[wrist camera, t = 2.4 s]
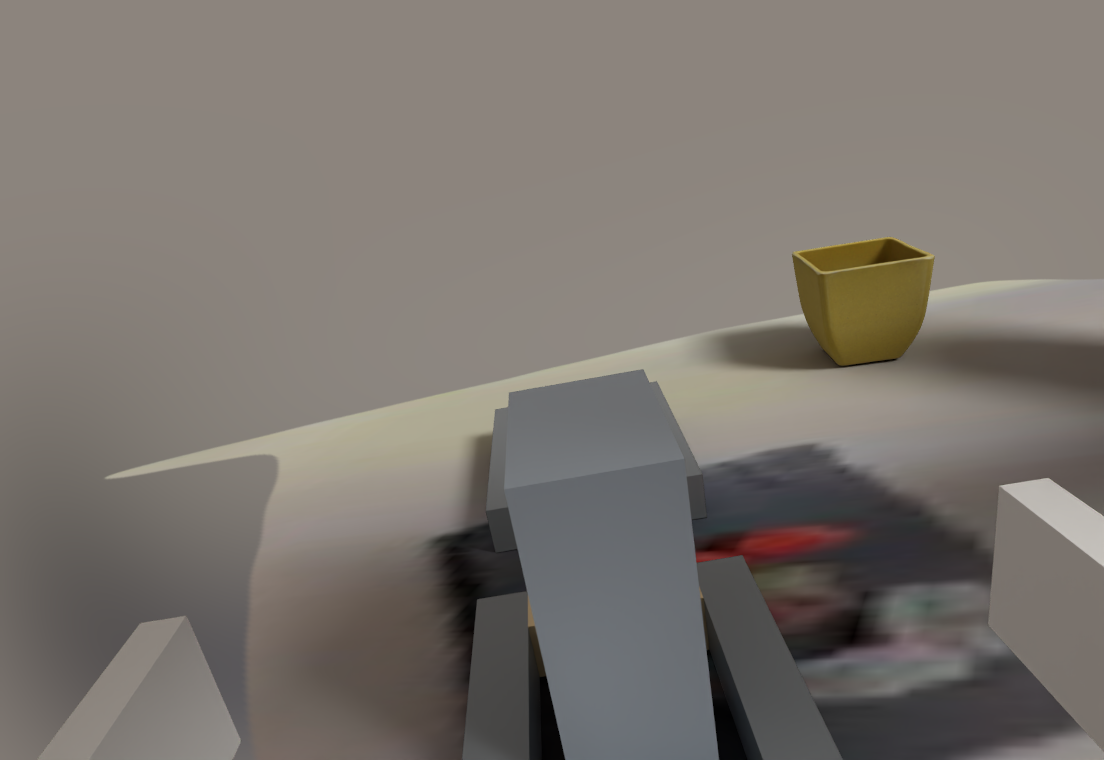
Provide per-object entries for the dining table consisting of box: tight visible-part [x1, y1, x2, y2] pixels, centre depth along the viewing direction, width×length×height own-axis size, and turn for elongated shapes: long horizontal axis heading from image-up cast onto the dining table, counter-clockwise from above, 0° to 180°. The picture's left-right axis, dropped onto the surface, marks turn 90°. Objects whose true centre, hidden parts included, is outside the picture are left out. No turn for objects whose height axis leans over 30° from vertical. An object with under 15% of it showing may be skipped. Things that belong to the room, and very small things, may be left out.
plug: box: [504, 369, 719, 760], centre depth 25 cm, size 5×8×15 cm, turn 2°
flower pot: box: [792, 237, 935, 365], centre depth 59 cm, size 9×9×9 cm
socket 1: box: [486, 382, 707, 553], centre depth 49 cm, size 13×15×3 cm
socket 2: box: [462, 555, 843, 760], centre depth 27 cm, size 13×15×3 cm
